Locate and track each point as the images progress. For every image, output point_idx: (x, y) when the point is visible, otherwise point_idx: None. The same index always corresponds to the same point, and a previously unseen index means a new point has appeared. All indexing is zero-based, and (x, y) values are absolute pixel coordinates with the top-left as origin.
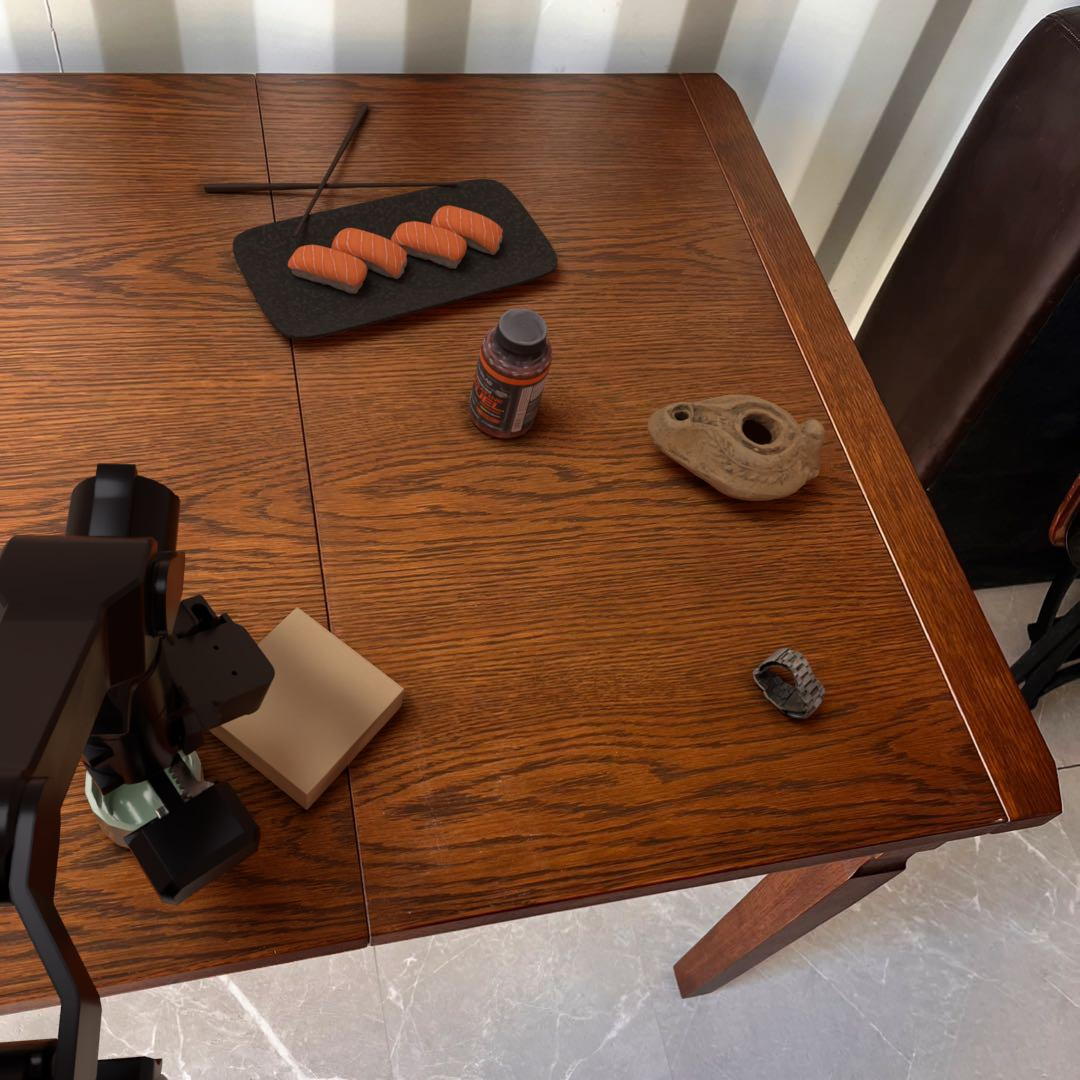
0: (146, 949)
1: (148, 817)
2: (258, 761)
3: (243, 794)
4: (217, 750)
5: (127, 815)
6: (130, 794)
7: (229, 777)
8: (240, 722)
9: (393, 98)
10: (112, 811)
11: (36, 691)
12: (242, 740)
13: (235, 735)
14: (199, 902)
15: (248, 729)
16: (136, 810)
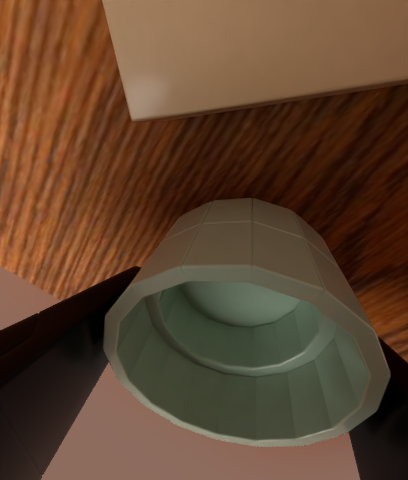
0: None
1: (258, 298)
2: (396, 83)
3: (358, 156)
4: (245, 130)
5: (233, 311)
6: (210, 290)
7: (307, 152)
8: (278, 36)
9: None
10: (213, 316)
11: None
12: (335, 82)
13: (300, 90)
14: (405, 316)
15: (324, 28)
16: (236, 300)
